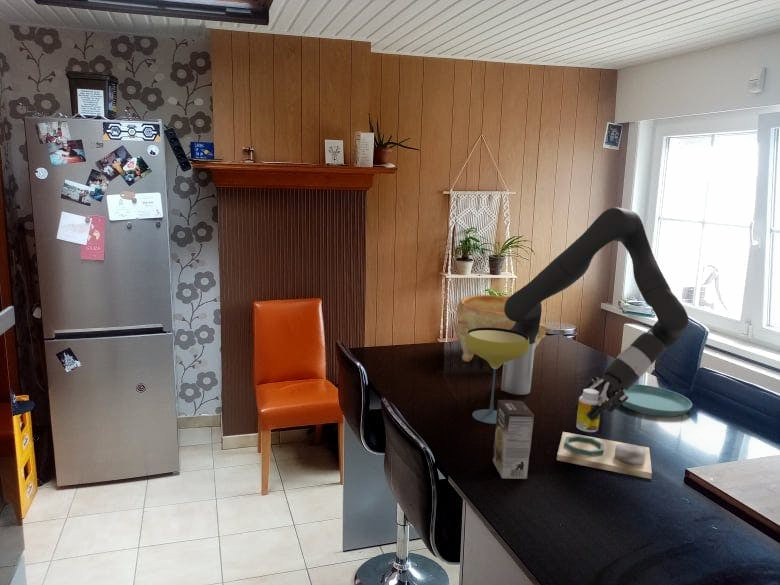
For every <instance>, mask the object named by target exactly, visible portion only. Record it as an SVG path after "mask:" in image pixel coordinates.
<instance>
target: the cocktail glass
mask: <svg viewBox="0 0 780 585" xmlns="http://www.w3.org/2000/svg"><path fill="white" fill-rule="evenodd" d="M466 345H467V347H468V348H469V349H470V350H471V351H472V352H473V353H475V354H474V355H476V356H478V357H480V358H481V359H483V360H485V361H487V363H488V364H489V366H490V368H492V369H493V373H492V385H491V386H492V387H491V395H490V403H489V409H488V408H487V409H486V408H484V409H478V410H474V411H473V412H472V418H474V420H475V421H478V422H481V423H484V424H488V425H489V424H490V425H496V418H497V409H496V410H495V409H494V395H495V384H496V375H497V374H496V372H497V370H498V369H499V368H501V366H503V364H504V363H505V362H507V361H510V360H513V359H516V358H519V357H521V356H522V355H524V354H525V353H526V352H527V351H528V348H529V337H528V336H527V335H525V334H523V333H521V332H517V331H513V330H509V329H502V328H474V329H471V330H469V331H468V332H467V334H466Z"/></svg>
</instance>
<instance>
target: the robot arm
mask: <svg viewBox="0 0 780 585" xmlns="http://www.w3.org/2000/svg"><path fill="white" fill-rule="evenodd" d="M611 242H620V243H621V244H622V245H623V247H625V249H626V251H627V252H628V254H629V256H630V258H631V259H630V260H631V263H632V269H633V271H632V272H633V278H634V281H635V284H636V286H637V288H638V290H639V293H640V294H641V296H642V298H643V301H644V302H645V303H646V304H647V306H649V307H651V309H652V310H653V312H654V314H655V316H656V319H657V321H656V322H655V323H654V325H652V327H650V329H648V331H646V332H643V333H641V334H640V335H639V336H638V337H637V338H636V339H634V341H633V342H632V343H630V345H629V346H627V347H626V348H625V349H623V350H622V351H621V352H620V353H619V354H618V355H617V357H615V358H614V359H613V360H612V361H611V363H609V364H608V365H607V366H606V367H605V369H604V375H601V377H597V376H596V375H595V374H592V375H591V376H590V377H589V378H588V380H586V382H585V383H584V384H583V386H582V387H581V388H580V390H579V391H580V393H581V396H583V390H584V389H594V390H597V391H599V399H600V400H599V402H598V406H597V405H595V406H594V407H593V408H592V409H591V410H590V411H589V412H588V413H587V417H588V418H589V419H590V420H591V421H593V420H594V419H596V418H597V417H598V416H599V415H600V416H601V414H602V413H603V412H606V411H607V412H608V413H612V412H614V410H616V409H617V408H619V407H620V406H621V405H622V403H623V402H625V401H626V400H627V399H628V396H627V395H626V394H625V392H624V391H623V390H628V389H629V388H630V387H631V386H632V385H633V384H636V382H638V381H639V380H640V378H641V377H642V376H643V375H644V374H646V372H647V371H648V370H649V368H650V367H651V366H652V365H653V363H654V362H656V360H657V359H659V358H660V357H661V355H662V354H663V353H664V352H665V351H666V350H668V349H669V348H670V347H671V346H673V345H674V344H675V343H676V342H677V341H678V340H679V339H681V337H682V336H683V335H684V334H685V332H686V329H687V327H688V324H689V315H688V313H687V311H686V309H685V307H684V305H683V304H682V303H681V302H680V300H679V299H678V298H677V297H676V295H675V294H674V293H673V292H672V289H671V287H670V286H669V284H668V282H667V280H666V278H665V276H664V274H663V272H662V271H661V269H660V267H659V264H658V263H657V261H656V258H655V255H654V253H653V250H652V248H651V245H650V242H649V239H648V235H647V233H646V230H645V227H644V225H643V222H642V219H641V217H640V216H639V215H638V214H637V212H636V211H633V210H630V209H627V208H622V207H618V206H617V207H616V206H615V207H610V208H607V209H606V210H605V211H603V212H602V213H601V214H600V215H599V216H597V217H596V219H595V220H594V221H593V222H592V223H591V224H590V226H589V227H588V228H587V229H586V230H585V231H584V232H583V233H582V234H581V235H580V236H579V237H578V238H577V239H576V240H575V241H574V242H572V243H571V244H570V245H569V246H568V247H566V249H564V251H562V252H561V253H560V254H559V255H557V256H556V257H555V258H553V260H552V261H551V262H550V263H549V264H548V265H547V266H546V267H545V268H544V269H542V270H540V272H539V273H538V274H537V275H536V276H535V277H534V278H533V279H531V281H530V282H529V281H528V283H527V284H525V285H524V286H522V287H521V288H520V289H519V290H517V291H515V292H514V293H512V294H511V295H510V296H508V297H509V298H508V299H507V301H506V303H505V307H504V312H505V315H506V317H507V318H508V319H510V320H511V321H515V322H516V323H515V325H514V326H513V327H512V328H511V329H510V330H513V331H517V332H521V333H523V334H525V335H527V336H528V337H529V348H528V351H527V352H526V353H525V354H524V355H522V356H521V357H519V358H516V359H513V360H510V361H507V362H505V363H503V364H502V376H501V387H500V391H501V392H502V391H503V392H506V393H508V394H512V395H516V396H517V395H518V396H524V395H528V394H530V393H531V389H532V386H531V385H532V379H533V378H532V376H533V366H534V358H535V350H534V348H535V339H536V336H537V334H538V332H539V326H540V323H541V318H542V311H543V310H542V302H543V301H545V300H546V299H548V298H551V297H553V296H554V295H556V294H558V293H561V292H562V291H565V290H567V288H569V287H571V286H572V285H573V284H574V283H576V282H577V281H578V280H579V279H580V278H581V277H583V276H584V274H585V273H586V272H587V271H588V269H589V267H590V265H591V263H592V261H593V258H594V256H595V255H596V254H597V253H598V252H599V251H600V250H602V249H603V248H604V247H605V246H607V245H608V244H609V243H611ZM535 349H536V348H535ZM578 403H579V399H578V400H577V401H576V402H575V403H574V404H573V408H574V410H576V411H577V412H578Z"/></svg>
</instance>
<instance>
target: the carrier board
mask: <svg viewBox="0 0 780 585" xmlns="http://www.w3.org/2000/svg"><path fill="white" fill-rule="evenodd" d="M561 434H562V435H561V439H560V441H559V442H560V443H559V446H558V451H557V453H556V454H557V455H556V461H560V462H564V463H569V464H574V465H579V466H585V467H590V468H594V469H600V470H603V471H604V470H605V471H610V472H614V473H618V474H623V475H624V474H625V475H628V476H629V475H630V476H634V477H638V478H644V479H649V480H652V476H653V475H652V474H653V471H652V463H651V462H652V461H651V453H650V447H647V446H643V445H637V444H632V443H625V442H622V441H616V440H610V439H604V438H598V437H594V436H588V435H582V434H578V433H573V432H572V433H571V432H565V431H562V433H561Z"/></svg>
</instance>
